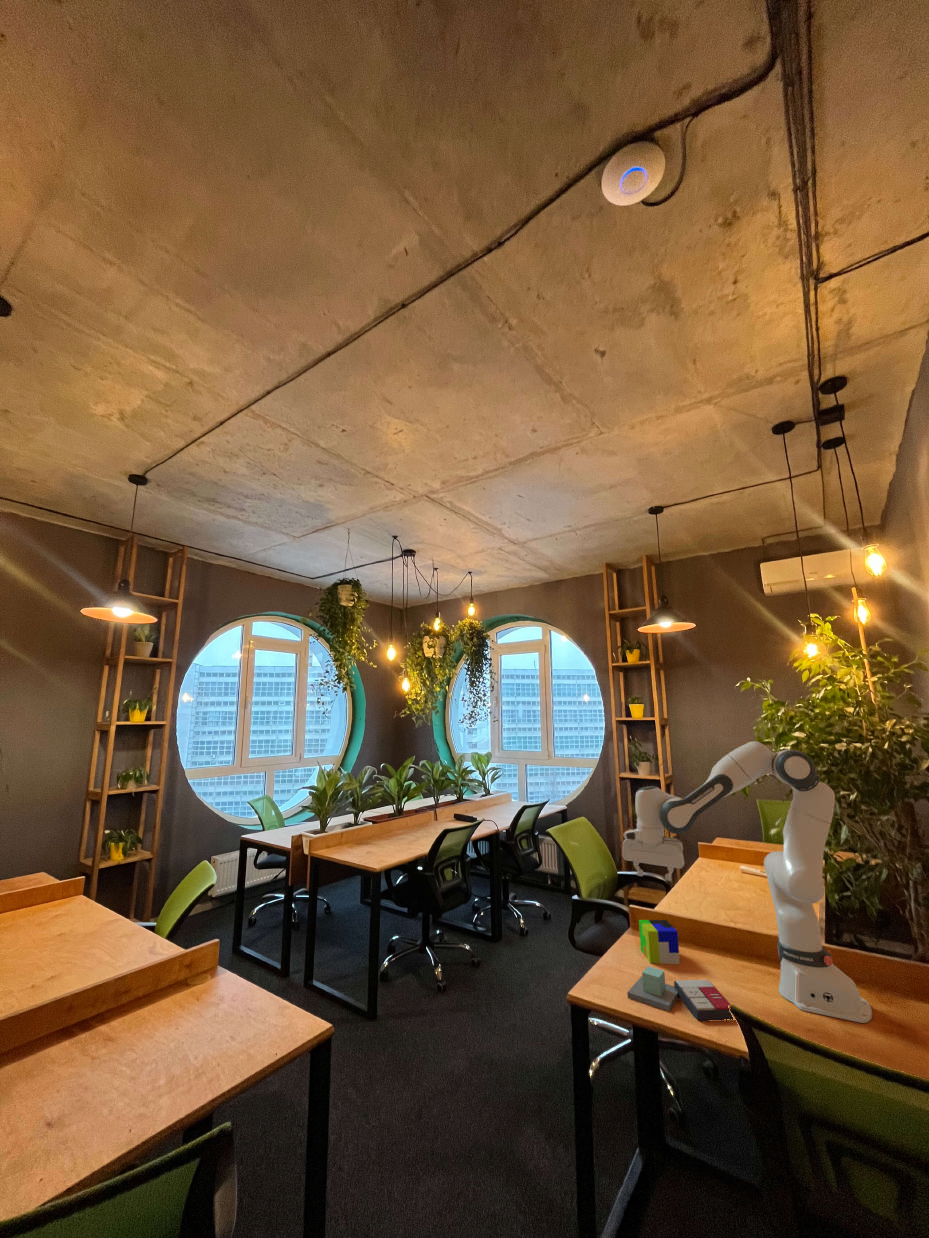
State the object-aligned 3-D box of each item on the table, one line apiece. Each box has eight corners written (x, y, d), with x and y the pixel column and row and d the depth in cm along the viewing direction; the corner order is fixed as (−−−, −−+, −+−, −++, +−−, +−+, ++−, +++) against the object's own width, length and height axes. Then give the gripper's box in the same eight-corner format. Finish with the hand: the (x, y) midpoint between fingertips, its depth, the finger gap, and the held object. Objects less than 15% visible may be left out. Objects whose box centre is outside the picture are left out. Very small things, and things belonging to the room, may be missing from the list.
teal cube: (665, 989, 153) (664, 970, 154) (660, 996, 149) (658, 977, 150) (648, 984, 156) (647, 965, 157) (643, 990, 152) (642, 972, 153)
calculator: (697, 1008, 140) (673, 977, 154) (698, 1025, 139) (674, 993, 154) (736, 1007, 140) (708, 977, 155) (737, 1024, 139) (709, 992, 154)
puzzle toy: (679, 963, 172) (677, 931, 174) (650, 963, 172) (648, 931, 174) (668, 950, 182) (666, 919, 184) (640, 950, 182) (638, 919, 184)
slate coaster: (681, 993, 153) (680, 988, 153) (669, 1011, 144) (668, 1005, 144) (641, 981, 160) (641, 976, 161) (627, 997, 151) (627, 991, 151)
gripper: (684, 837, 172) (688, 881, 169) (625, 829, 184) (628, 870, 182) (679, 840, 167) (683, 885, 165) (619, 833, 179) (622, 875, 177)
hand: (654, 877), depth 173 cm, fingers open, 8 cm apart
